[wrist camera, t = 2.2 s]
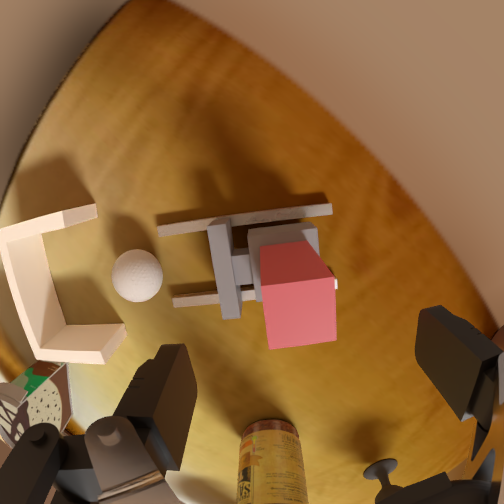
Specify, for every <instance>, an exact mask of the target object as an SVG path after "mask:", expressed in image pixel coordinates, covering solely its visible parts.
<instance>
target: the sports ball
mask: <svg viewBox="0 0 504 504" xmlns="http://www.w3.org/2000/svg"><path fill="white" fill-rule="evenodd" d="M162 279H163V273H162V268H161V265H160V263H159V262H158V260H157V259H156V258H155V257H154V256H153V255H152V254H151V253H149V252H147V251H145V250H140V249H133V250H129V251H126V252H125V253H123V254H122V255H120V256H119V257H118V259H117V260H116V261H115V263H114V265H113V268H112V282H113V285H114V287H115V289H116V291H117V292H118V293H119V294H120V295H121V296H122V297H123V298H125V299H127V300H129V301H132V302H143V301H146V300H149V299H150V298H152V297H153V296H154V295H155V294H156V293H157V292H158V291H159V289H160V287H161V284H162Z"/></svg>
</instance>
